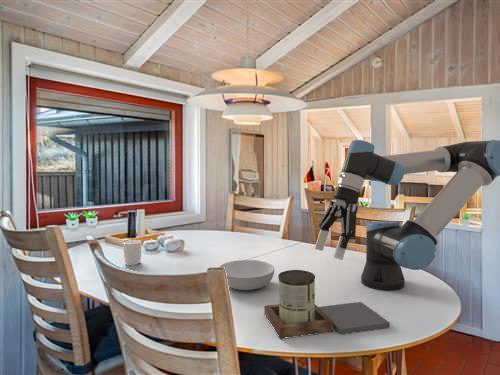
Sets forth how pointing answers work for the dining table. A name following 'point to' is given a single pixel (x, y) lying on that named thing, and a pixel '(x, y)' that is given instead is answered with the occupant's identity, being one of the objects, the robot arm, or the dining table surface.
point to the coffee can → (296, 296)
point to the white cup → (132, 251)
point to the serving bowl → (248, 274)
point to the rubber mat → (354, 318)
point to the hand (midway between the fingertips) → (327, 254)
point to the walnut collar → (298, 328)
